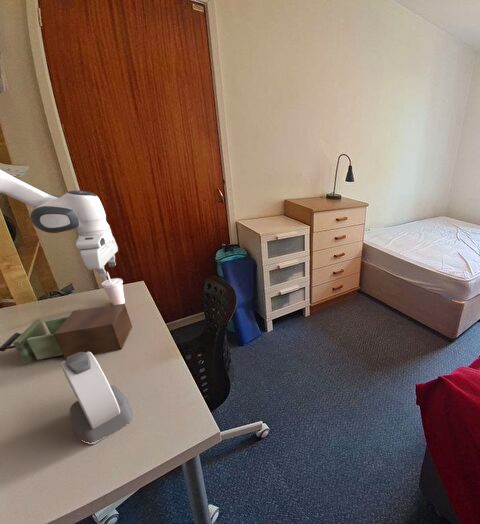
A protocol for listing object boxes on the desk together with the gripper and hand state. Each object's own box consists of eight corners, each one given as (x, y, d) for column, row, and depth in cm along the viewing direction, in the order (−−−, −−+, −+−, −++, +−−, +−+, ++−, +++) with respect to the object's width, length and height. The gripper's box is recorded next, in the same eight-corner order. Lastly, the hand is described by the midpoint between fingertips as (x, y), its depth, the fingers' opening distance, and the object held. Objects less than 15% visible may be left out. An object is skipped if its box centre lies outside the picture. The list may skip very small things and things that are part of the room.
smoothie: (104, 306, 110) (92, 273, 104) (120, 298, 115) (110, 267, 110) (117, 308, 108) (106, 276, 103) (133, 300, 114) (123, 269, 109)
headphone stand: (141, 421, 66) (119, 362, 59) (85, 457, 59) (51, 393, 51) (118, 387, 75) (95, 331, 68) (66, 414, 67) (35, 354, 60)
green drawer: (1, 368, 78) (-13, 346, 75) (25, 343, 88) (14, 322, 85) (80, 353, 84) (71, 332, 81) (94, 331, 94) (87, 312, 91)
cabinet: (65, 360, 83) (53, 334, 79) (83, 335, 94) (73, 310, 90) (121, 349, 88) (112, 324, 84) (132, 326, 99) (124, 303, 95)
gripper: (96, 229, 108) (107, 261, 114) (73, 246, 91) (87, 284, 97) (116, 228, 111) (126, 260, 116) (97, 244, 94) (110, 281, 99)
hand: (108, 271), depth 106 cm, fingers open, 8 cm apart
